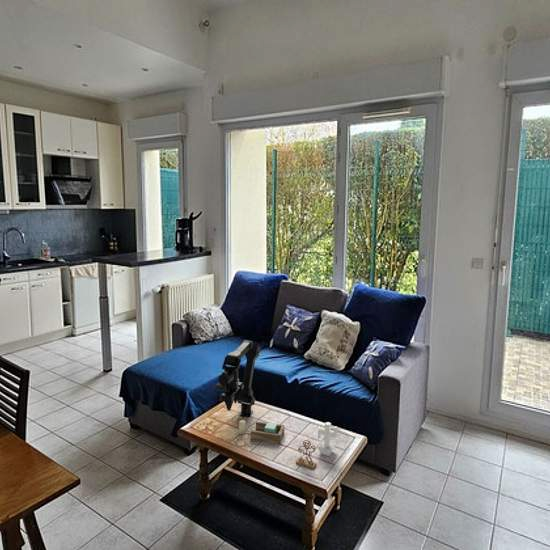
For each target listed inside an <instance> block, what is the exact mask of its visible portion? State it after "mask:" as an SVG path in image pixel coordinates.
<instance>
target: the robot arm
mask: <svg viewBox="0 0 550 550" xmlns="http://www.w3.org/2000/svg"><path fill="white" fill-rule="evenodd" d="M261 349H262V348H261V347H260V345H259V344H256V343H254V342H253V341H252V340H246V339H245V340H243V341H242V343H241V344H240V345H239V346H238V347H237V348H236V349H235V350H234V351H231V352H229V353H227V354H226V356H225V357H224V360H223V363H222V366H221V369H222V370H223V371H222V372H221V374H220V375H219V376H218V378H217V380H218V381H217V383H216V385H215V388H214V389H215V390H216V391H217V392H220V391H224V392H223V393H222V394H221V395H220V396H219V401H221V402H224V404H225V407H226V409H227V412H230V411H231V410H232V409H231V408H232V406H233V404H240V412H239V413H238V415H239V416H243V417H251V416H252V414H253V412H254V410H252V406H255V402H256V398H255V397H254V391H253V388H252V383H253V377H254V370H255V365H256V364H255V363H256V360H257V359H258V358H259V356H260V353H261ZM244 356H245V358H246V362H245V367H244V374H243V378H242V379H243V381H242V382H240V378H239V368H240V365H241V364H242V358H243V357H244Z"/></svg>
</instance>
